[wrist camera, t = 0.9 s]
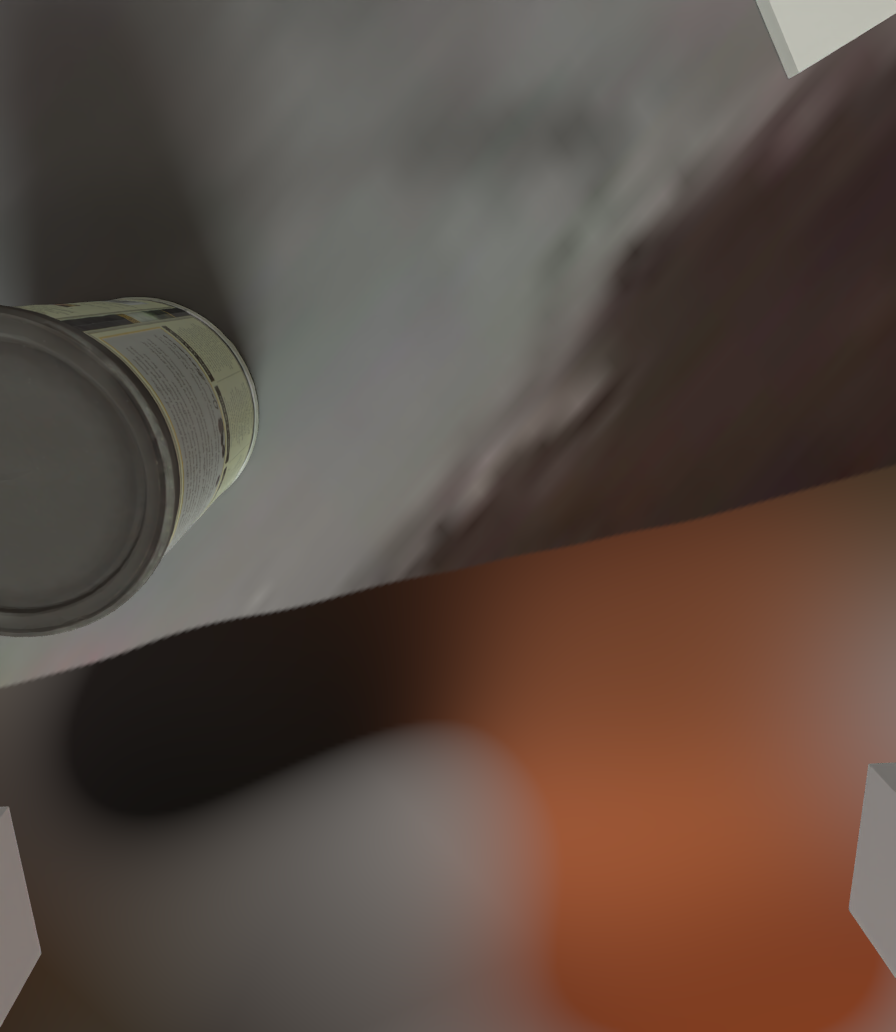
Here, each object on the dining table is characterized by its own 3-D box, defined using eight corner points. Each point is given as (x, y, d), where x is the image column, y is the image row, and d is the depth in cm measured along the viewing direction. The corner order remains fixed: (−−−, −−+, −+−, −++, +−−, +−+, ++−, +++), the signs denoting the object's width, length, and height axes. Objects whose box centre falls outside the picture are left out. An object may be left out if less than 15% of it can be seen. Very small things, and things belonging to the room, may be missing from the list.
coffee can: (134, 553, 39) (-17, 695, 26) (-8, 375, 37) (-259, 430, 23) (305, 442, 38) (241, 530, 24) (171, 249, 35) (17, 230, 22)
